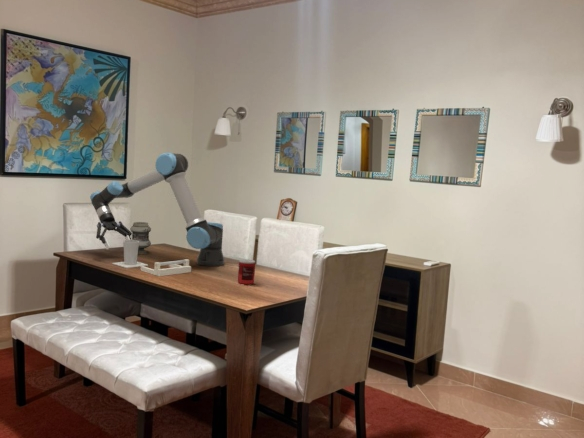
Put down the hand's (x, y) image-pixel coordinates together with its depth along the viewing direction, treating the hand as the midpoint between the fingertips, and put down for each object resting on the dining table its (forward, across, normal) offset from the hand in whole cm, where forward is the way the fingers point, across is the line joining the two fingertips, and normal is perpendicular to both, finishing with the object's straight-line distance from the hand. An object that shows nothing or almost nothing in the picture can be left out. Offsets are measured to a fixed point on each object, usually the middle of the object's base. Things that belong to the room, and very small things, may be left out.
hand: (119, 247), depth 288 cm
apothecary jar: (-7, -24, -18) cm, 31 cm away
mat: (+13, 0, +2) cm, 13 cm away
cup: (+13, 0, +2) cm, 13 cm away
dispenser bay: (+29, -6, +18) cm, 35 cm away
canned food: (+59, -22, +47) cm, 79 cm away
